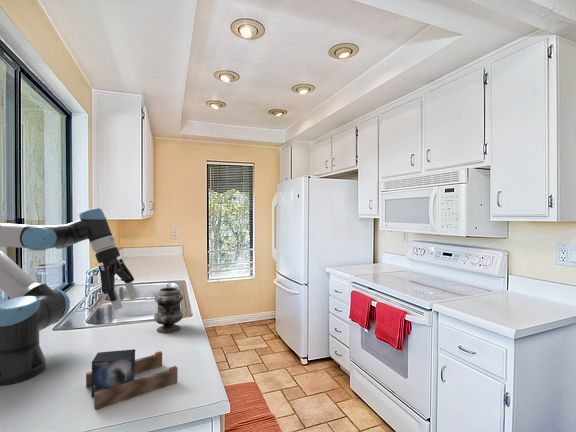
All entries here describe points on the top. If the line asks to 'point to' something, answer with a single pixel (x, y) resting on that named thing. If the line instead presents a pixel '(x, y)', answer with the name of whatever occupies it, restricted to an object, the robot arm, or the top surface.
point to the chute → (135, 382)
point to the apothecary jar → (168, 309)
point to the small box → (112, 369)
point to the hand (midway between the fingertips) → (127, 303)
